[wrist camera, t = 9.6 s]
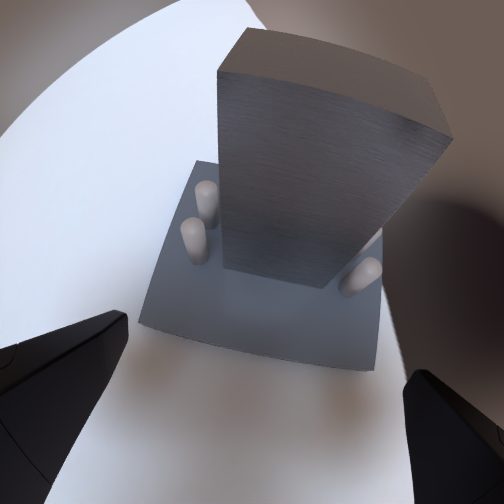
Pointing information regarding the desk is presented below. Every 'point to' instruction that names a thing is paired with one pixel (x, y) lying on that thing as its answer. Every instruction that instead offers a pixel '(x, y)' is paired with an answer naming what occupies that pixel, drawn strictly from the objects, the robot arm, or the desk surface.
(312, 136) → the block
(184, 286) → the grey pegged stand
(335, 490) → the desk surface
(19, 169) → the desk surface
